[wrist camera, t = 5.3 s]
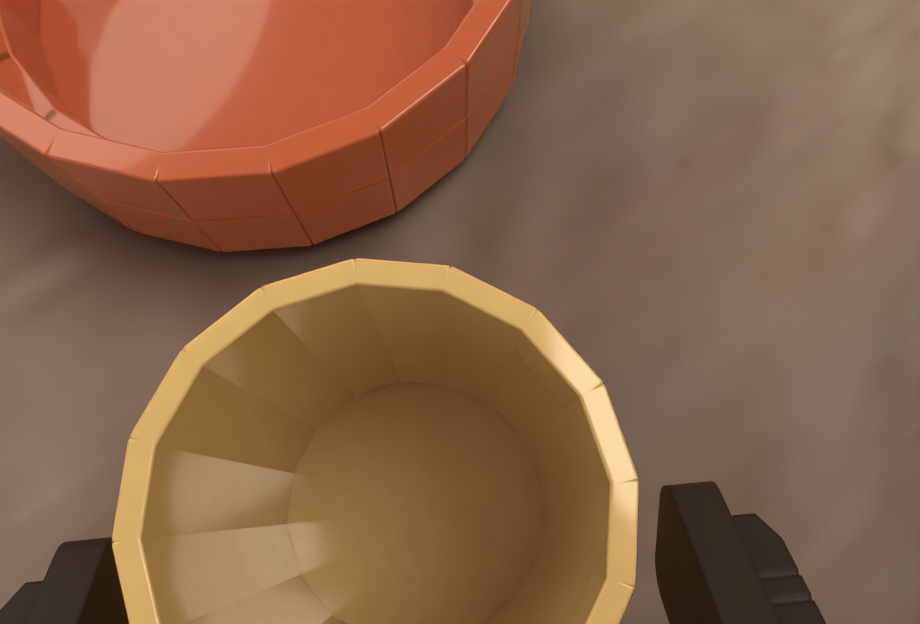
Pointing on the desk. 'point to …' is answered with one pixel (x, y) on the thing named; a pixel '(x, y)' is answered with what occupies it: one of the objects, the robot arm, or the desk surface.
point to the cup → (378, 463)
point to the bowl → (253, 107)
